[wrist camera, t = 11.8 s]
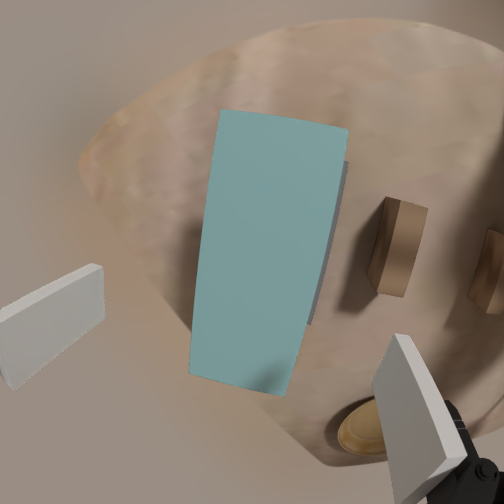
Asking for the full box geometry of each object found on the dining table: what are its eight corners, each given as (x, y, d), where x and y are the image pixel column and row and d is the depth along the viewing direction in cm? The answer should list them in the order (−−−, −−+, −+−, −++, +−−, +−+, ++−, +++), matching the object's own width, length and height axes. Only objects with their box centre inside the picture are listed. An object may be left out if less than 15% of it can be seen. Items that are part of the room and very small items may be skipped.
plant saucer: (435, 373, 33) (440, 383, 30) (417, 435, 36) (420, 446, 33) (337, 389, 36) (338, 402, 33) (335, 449, 39) (335, 460, 36)
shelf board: (286, 378, 24) (284, 396, 21) (198, 357, 25) (188, 373, 22) (343, 135, 18) (348, 129, 16) (230, 116, 19) (220, 109, 17)
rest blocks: (386, 196, 28) (400, 200, 24) (502, 234, 26) (524, 242, 21) (366, 275, 31) (376, 292, 26) (482, 299, 29) (501, 315, 24)
